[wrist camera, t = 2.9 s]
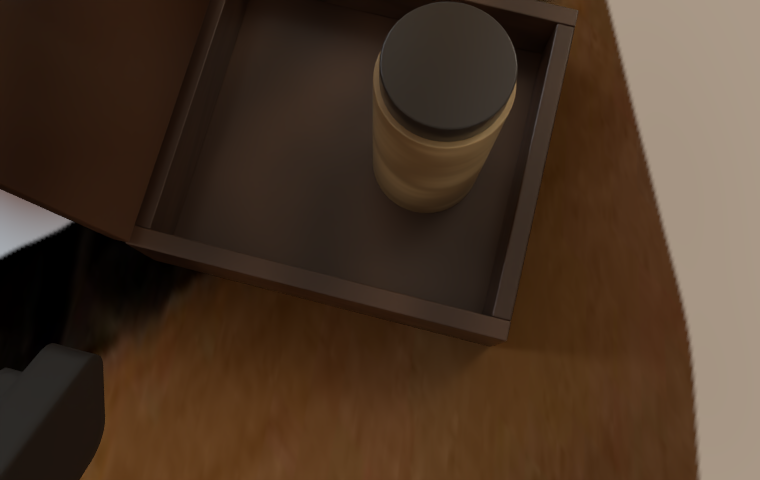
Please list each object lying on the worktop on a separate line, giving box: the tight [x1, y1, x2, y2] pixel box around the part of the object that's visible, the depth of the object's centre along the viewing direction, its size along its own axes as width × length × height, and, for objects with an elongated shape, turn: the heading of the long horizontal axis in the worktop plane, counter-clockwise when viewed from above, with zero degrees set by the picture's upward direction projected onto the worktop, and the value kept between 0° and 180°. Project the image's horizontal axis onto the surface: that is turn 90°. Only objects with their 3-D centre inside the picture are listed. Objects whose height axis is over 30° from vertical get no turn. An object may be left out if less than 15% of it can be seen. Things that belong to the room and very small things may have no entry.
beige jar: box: [373, 2, 518, 213], centre depth 28 cm, size 5×5×10 cm
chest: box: [125, 0, 578, 346], centre depth 32 cm, size 16×15×4 cm
